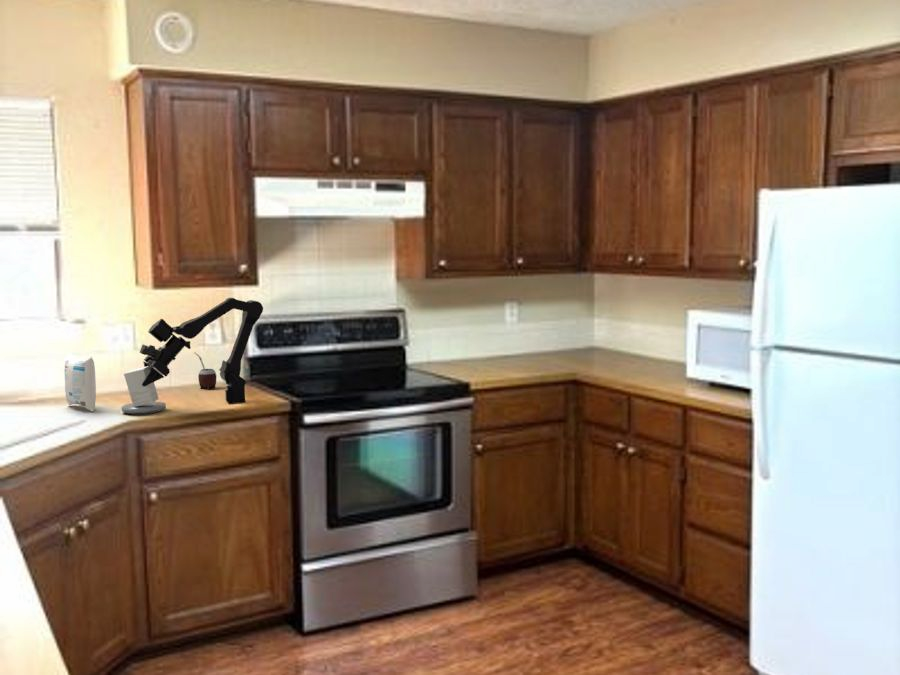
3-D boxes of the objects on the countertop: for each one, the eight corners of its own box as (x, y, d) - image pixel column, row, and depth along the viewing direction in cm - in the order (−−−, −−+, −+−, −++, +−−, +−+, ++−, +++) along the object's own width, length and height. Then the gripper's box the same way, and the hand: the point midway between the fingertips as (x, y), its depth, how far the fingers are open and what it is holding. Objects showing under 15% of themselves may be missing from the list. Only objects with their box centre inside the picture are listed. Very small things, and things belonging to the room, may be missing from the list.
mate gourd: (217, 389, 363) (216, 353, 361) (197, 391, 360) (196, 354, 358) (215, 386, 370) (213, 350, 368) (195, 388, 367) (194, 352, 365)
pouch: (81, 413, 318) (77, 358, 315) (60, 406, 331) (57, 353, 329) (103, 410, 323) (99, 355, 321) (82, 403, 337) (79, 351, 334)
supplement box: (159, 398, 323) (150, 365, 322) (152, 403, 316) (143, 368, 314) (139, 403, 323) (130, 369, 322) (132, 407, 316) (123, 373, 314)
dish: (164, 406, 330) (164, 400, 329) (167, 413, 316) (167, 407, 315) (121, 409, 324) (121, 403, 324) (122, 417, 310) (122, 411, 310)
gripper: (148, 333, 327) (118, 366, 323) (157, 338, 311) (126, 373, 307) (171, 352, 332) (142, 385, 328) (182, 359, 315) (152, 393, 312)
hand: (140, 383), depth 318 cm, fingers closed on supplement box, 9 cm apart
